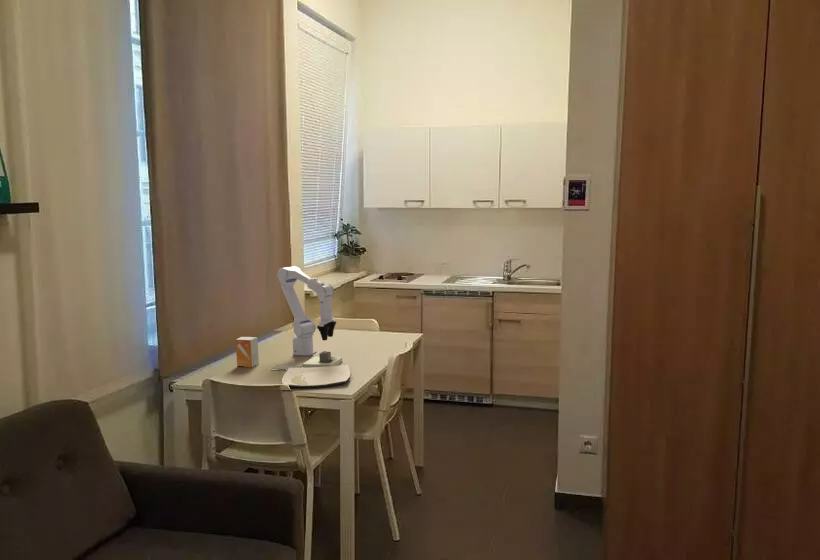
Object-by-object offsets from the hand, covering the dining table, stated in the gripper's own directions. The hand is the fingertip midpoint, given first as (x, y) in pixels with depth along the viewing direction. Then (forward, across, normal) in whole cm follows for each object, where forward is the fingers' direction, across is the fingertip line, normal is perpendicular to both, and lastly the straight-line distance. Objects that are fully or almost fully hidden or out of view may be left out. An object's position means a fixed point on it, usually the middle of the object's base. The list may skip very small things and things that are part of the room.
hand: (327, 338), depth 325 cm
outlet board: (+9, -13, -2) cm, 16 cm away
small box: (+10, -18, +33) cm, 39 cm away
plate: (+10, -36, -8) cm, 38 cm away
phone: (+10, -21, +12) cm, 26 cm away
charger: (+10, -14, -4) cm, 17 cm away
